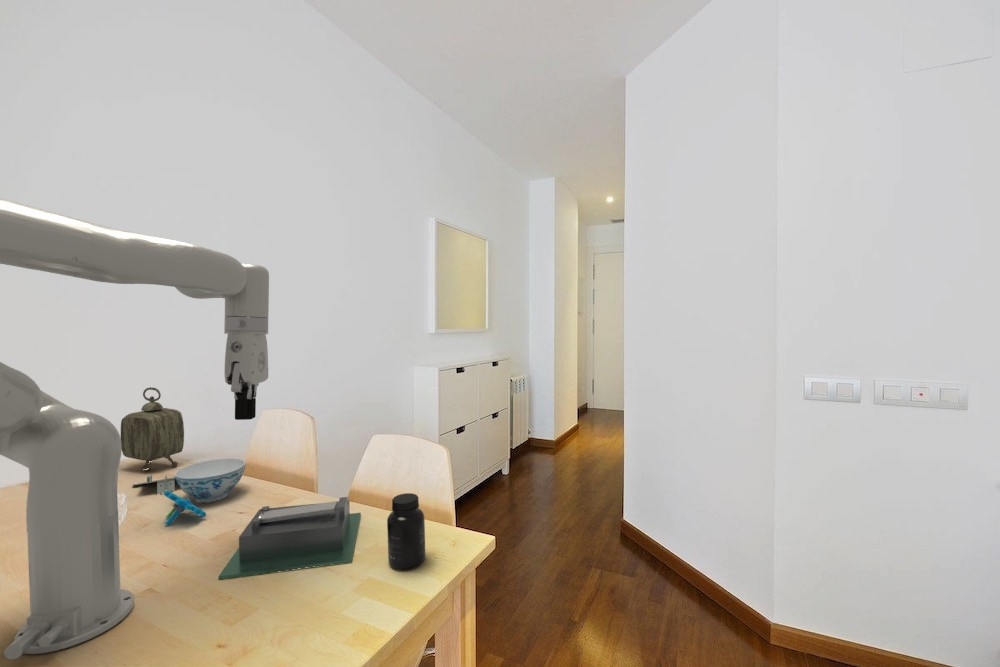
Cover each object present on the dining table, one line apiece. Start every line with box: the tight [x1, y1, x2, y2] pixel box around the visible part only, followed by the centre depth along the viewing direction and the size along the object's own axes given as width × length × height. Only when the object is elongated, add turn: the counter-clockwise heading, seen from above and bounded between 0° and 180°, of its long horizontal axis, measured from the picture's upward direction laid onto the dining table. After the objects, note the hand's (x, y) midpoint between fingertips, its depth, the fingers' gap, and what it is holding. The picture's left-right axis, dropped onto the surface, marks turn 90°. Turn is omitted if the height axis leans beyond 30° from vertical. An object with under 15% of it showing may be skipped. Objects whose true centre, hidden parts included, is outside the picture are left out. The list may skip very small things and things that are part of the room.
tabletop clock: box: [120, 387, 185, 470], centre depth 131 cm, size 14×9×25 cm, turn 74°
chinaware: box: [174, 457, 246, 503], centre depth 109 cm, size 15×15×8 cm
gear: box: [162, 491, 207, 526], centre depth 96 cm, size 11×6×10 cm
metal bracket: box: [131, 474, 176, 495], centre depth 117 cm, size 14×6×15 cm
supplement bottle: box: [386, 493, 426, 572], centre depth 79 cm, size 7×7×12 cm
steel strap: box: [257, 500, 338, 523], centre depth 86 cm, size 4×14×1 cm, turn 103°
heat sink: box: [217, 496, 362, 580], centre depth 86 cm, size 20×22×8 cm
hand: (245, 418), depth 85 cm, fingers closed
